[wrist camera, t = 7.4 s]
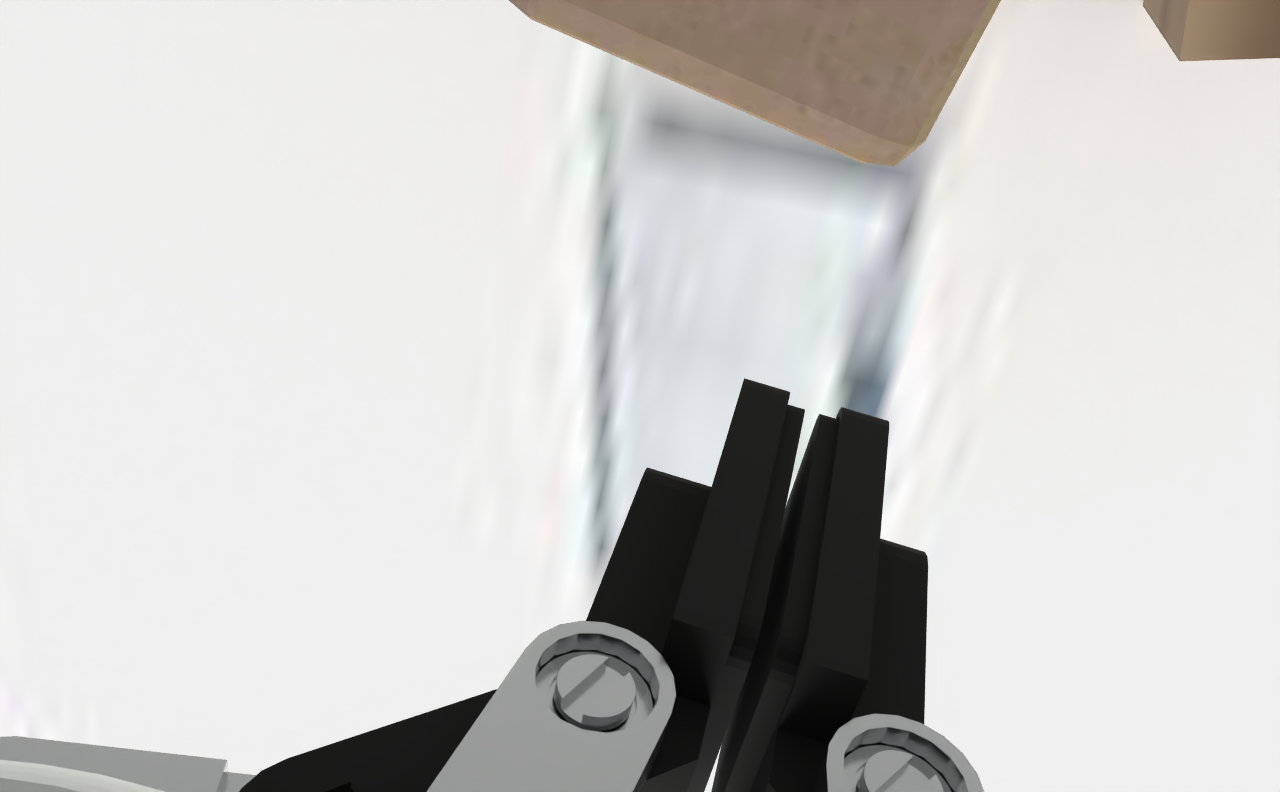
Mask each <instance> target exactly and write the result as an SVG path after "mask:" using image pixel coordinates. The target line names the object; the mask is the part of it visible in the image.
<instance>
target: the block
mask: <svg viewBox="0 0 1280 792" xmlns="http://www.w3.org/2000/svg"><path fill="white" fill-rule="evenodd" d="M509 1H510V2H511V3H513V4H514V5H515V6H516V7H517V8H518V9H520V10H521V11H522V12H523V13H524V14H526V15H527V16H528V17H529V18H530V19H532V20H534V21H536V22H539V23H541V24H543V25H546V26H548V27H550V28H553V29H555V30H557V31H559V32H562V33H564V34H566V35H569V36H571V37H573V38H576V39H578V40H580V41H582V42H585V43H587V44H589V45H592V46H594V47H596V48H599V49H601V50H603V51H605V52H608V53H610V54H612V55H615V56H617V57H619V58H622V59H624V60H626V61H628V62H631V63H633V64H635V65H638V66H640V67H642V68H645V69H647V70H649V71H651V72H654V73H656V74H658V75H661V76H663V77H665V78H668V79H670V80H672V81H674V82H677V83H679V84H681V85H684V86H686V87H688V88H691V89H693V90H695V91H697V92H700V93H702V94H704V95H707V96H709V97H711V98H714V99H716V100H718V101H720V102H723V103H725V104H727V105H730V106H732V107H734V108H737V109H739V110H741V111H743V112H746V113H748V114H750V115H753V116H755V117H757V118H760V119H762V120H764V121H766V122H769V123H771V124H773V125H776V126H778V127H780V128H783V129H785V130H787V131H789V132H792V133H794V134H796V135H799V136H801V137H803V138H806V139H808V140H810V141H812V142H815V143H817V144H819V145H822V146H824V147H826V148H829V149H831V150H833V151H835V152H838V153H840V154H842V155H845V156H847V157H849V158H852V159H854V160H856V161H858V162H861V163H872V164H881V165H889V166H895V165H897V164H898V163H899V162H901V161H902V160H903V159H904V158H905V157H907V156H908V155H909V154H910V153H911V152H913V151H914V150H915V149H916V148H917V147H919V146H920V145H921V144H922V143H923V142H924V141H925V140H926V138H927V136H928V134H929V132H930V131H931V129H932V127H933V125H934V123H935V121H936V119H937V118H938V116H939V114H940V112H941V110H942V108H943V106H944V105H945V103H946V101H947V99H948V97H949V95H950V93H951V92H952V90H953V88H954V86H955V84H956V82H957V81H958V79H959V77H960V75H961V73H962V71H963V69H964V68H965V66H966V64H967V62H968V60H969V58H970V56H971V55H972V53H973V51H974V49H975V47H976V45H977V43H978V42H979V40H980V38H981V36H982V34H983V32H984V31H985V29H986V27H987V25H988V23H989V21H990V19H991V18H992V16H993V14H994V12H995V10H996V8H997V6H998V5H999V3H1000V1H1001V0H509Z"/></svg>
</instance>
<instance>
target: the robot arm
mask: <svg viewBox="0 0 1280 792" xmlns="http://www.w3.org/2000/svg"><path fill="white" fill-rule="evenodd" d="M789 396H790V392H788V391H785V390H782V389H778V388H775V387H771V386H768V385H765V384H761V383H758V382H755V381H751V380H748V379H744V381H743V384H742V388H741V391H740V394H739V398H738V401H737V405H736V408H735V411H734V415H733V418H732V421H731V425H730V428H729V431H728V435H727V438H726V441H725V445H724V448H723V451H722V455H721V458H720V461H719V465H718V468H717V471H716V475H715V478H714V481H713V485H712V487H709V486H706V485H703V484H700V483H696V482H693V481H690V480H686V479H683V478H680V477H677V476H673V475H670V474H667V473H664V472H660V471H657V470H654V469H650V468H647V469H646V470H645V472H644V475H643V477H642V479H641V482H640V484H639V487H638V489H637V492H636V495H635V497H634V500H633V502H632V505H631V507H630V510H629V512H628V515H627V518H626V520H625V523H624V525H623V528H622V530H621V533H620V535H619V538H618V540H617V543H616V546H615V548H614V551H613V553H612V556H611V558H610V561H609V563H608V566H607V569H606V571H605V574H604V576H603V579H602V581H601V584H600V586H599V589H598V591H597V594H596V597H595V599H594V602H593V604H592V607H591V609H590V612H589V614H588V617H587V620H586V621H578V622H572V623H566V624H560V625H558V626H556V627H554V628H551V629H549V630H547V631H545V632H543V633H541V634H540V635H539V636H538V637H537V638H536V639H535V640H534V641H533V642H532V643H531V644H530V645H529V646H528V647H527V648H526V649H525V650H524V652H523V653H522V655H521V656H520V658H519V659H518V660H517V662H516V663H515V665H514V666H513V668H512V669H511V671H510V672H509V673H508V675H507V676H506V678H505V679H504V681H503V682H502V684H501V685H500V686H499V688H498V689H496V690H493V691H490V692H487V693H484V694H481V695H478V696H475V697H472V698H469V699H466V700H463V701H460V702H457V703H454V704H451V705H448V706H445V707H442V708H439V709H436V710H433V711H430V712H427V713H424V714H421V715H418V716H415V717H412V718H408V719H405V720H402V721H399V722H396V723H393V724H390V725H387V726H384V727H381V728H378V729H375V730H372V731H369V732H366V733H363V734H360V735H357V736H354V737H351V738H348V739H345V740H342V741H339V742H336V743H333V744H330V745H327V746H324V747H321V748H318V749H315V750H312V751H309V752H306V753H303V754H300V755H297V756H294V757H291V758H288V759H285V760H283V761H281V762H279V763H277V764H275V765H273V766H271V767H269V768H266V769H264V770H262V771H261V772H260V773H259V774H257V775H249V774H240V773H231V772H227V760H222V759H213V758H205V757H196V756H187V755H178V754H169V753H160V752H151V751H142V750H133V749H125V748H116V747H107V746H98V745H89V744H80V743H71V742H62V741H54V740H45V739H36V738H27V737H18V736H11V737H0V792H704V791H705V788H706V785H707V782H708V780H709V777H710V774H711V771H712V769H713V766H714V763H715V761H716V758H717V755H718V752H719V750H720V747H721V750H720V755H719V759H718V764H717V769H716V773H715V778H714V783H713V787H712V792H984V790H983V787H982V785H981V782H980V779H979V777H978V774H977V773H976V771H975V770H974V768H973V767H972V765H971V764H970V763H969V761H968V760H967V758H966V757H965V756H964V754H963V753H962V752H961V751H960V750H959V749H957V748H956V747H955V746H954V745H953V744H952V743H951V742H950V741H949V740H947V739H946V738H945V737H944V736H943V735H941V734H939V733H937V732H936V731H934V730H932V729H931V728H929V727H927V726H925V725H924V707H925V667H926V626H927V586H928V559H927V555H926V553H925V552H923V551H919V550H916V549H913V548H910V547H906V546H903V545H900V544H896V543H893V542H890V541H887V540H883V539H880V532H881V520H882V508H883V496H884V483H885V471H886V459H887V447H888V435H889V422H888V421H886V420H883V419H880V418H876V417H873V416H870V415H866V414H863V413H859V412H856V411H853V410H849V409H846V408H843V407H841V409H840V410H839V412H838V414H837V417H836V419H835V418H831V417H828V416H825V415H821V414H819V416H818V418H817V420H816V423H815V426H814V428H813V431H812V434H811V437H810V440H809V443H808V445H807V448H806V451H805V454H804V457H803V460H802V463H801V465H800V468H799V471H798V474H797V477H796V480H795V482H794V485H793V488H792V491H791V494H790V497H789V499H788V502H787V497H788V492H789V487H790V482H791V477H792V472H793V467H794V462H795V457H796V453H797V448H798V443H799V438H800V433H801V428H802V423H803V418H804V412H805V410H804V409H801V408H798V407H794V406H791V405H788V400H789ZM786 502H787V505H786ZM785 507H786V508H785ZM721 744H722V746H721Z"/></svg>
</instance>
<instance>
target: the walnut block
mask: <svg viewBox="0 0 1280 792" xmlns="http://www.w3.org/2000/svg"><path fill="white" fill-rule="evenodd" d="M1143 7H1144V8H1145V10H1146V11H1147V13H1148V14H1149V16H1150V17H1151V19H1152V20H1153V22H1154V23H1155V25H1156V26H1157V28H1158V29H1159V31H1160V32H1161V34H1162V35H1163V37H1164V38H1165V40H1166V41H1167V43H1168V44H1169V46H1170V47H1171V49H1172V50H1173V52H1174V53H1175V55H1176V57H1177V58H1178V60H1179V61H1199V60H1230V59H1261V58H1280V0H1144V3H1143Z"/></svg>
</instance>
